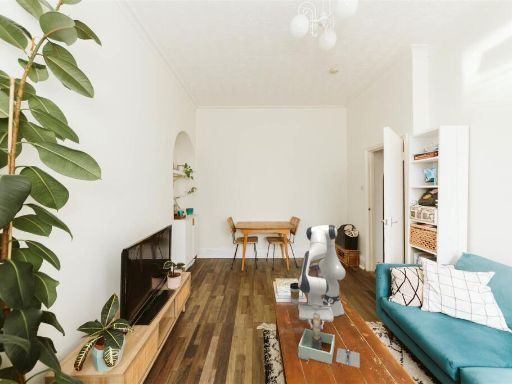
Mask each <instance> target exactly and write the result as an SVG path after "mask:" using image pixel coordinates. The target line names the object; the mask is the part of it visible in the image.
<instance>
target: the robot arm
mask: <svg viewBox="0 0 512 384" xmlns="http://www.w3.org/2000/svg"><path fill="white" fill-rule="evenodd" d="M305 235H306V238H307V240H309V242H310V243H309V249H308V250H307V251H306V252H305V253H304V256H303V260H302V261H303V262H302V265H301V270H300V275H299V279H298V282H297V283H298V288H299V290H300V291H301V293H303V294H304V293H306V294H307V303H305V302H304V303H302V302H301V303H299V304H298V306H297V308H298V318H299V320H302V321H308V324H309V325H310V330H313V323H312V321H313V314H314V313H319V314H320V323H321V324H320V330H323V329H324V327H323V326H324V324H325V322H328V323H332V322H334V317H339V316H343V315H345V310H344V306H343V303H342V301H341V294H340V283H339V281H341V280H343V279H344V278H345V277H346V273H347V272H346V269H345V268H344V267H343V265H342V263H341V261H340V259H339V257H338V254H337V250H336V247H335V242H334V240H335V239H336V238H337V237H338V229H337V227H336V226H335V225H334V224H329V225H328V224H324V225H323V224H321V225H315V226H310V227H307V229H306V233H305ZM318 260H320V261H319V262H318V263H319V268H320V270H321V272H322V276H323V278H318V277H311V276H309V275H308V274H309V271H310V268H309V266H310V264H311V262H313V261H318ZM322 296H323V298H322Z"/></svg>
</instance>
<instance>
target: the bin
mask: <svg viewBox="0 0 512 384" xmlns="http://www.w3.org/2000/svg"><path fill="white" fill-rule="evenodd" d="M320 336H321V337H322V343H326V344H328V345H330V351H329V352H328V351H324V350H321V349H320V350H318V349H314V348H312V337H313V329H311V328H309V329H308V328H304V330H303V333H302V335H301V338H300V341H299V343H298V359H301V360H304V361H305V360H306V361H309V360H310V359H311V360H313V361H318V362H322V363H326V364H329V365H332V362H333V357H334V350H335V341H336V339H335V337H336V335H335V334H331V333H328V332H327V333H326V332H322V331H320Z"/></svg>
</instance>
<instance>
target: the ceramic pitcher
mask: <svg viewBox="0 0 512 384" xmlns="http://www.w3.org/2000/svg"><path fill="white" fill-rule="evenodd" d="M308 275H309V276H311V277H318V278H323V276H322V272H321V270H320V268H319V262H315V263H314V262H313V263H311V262H310V266H309V272H308Z"/></svg>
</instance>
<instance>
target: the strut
mask: <svg viewBox="0 0 512 384" xmlns="http://www.w3.org/2000/svg"><path fill="white" fill-rule="evenodd" d="M312 322H313V323H312V325H313V329H312V330H313V337H312V348H313V349H317V350H321V349H322V346H323V345H322V343H323V342H322V337H321V336H320V332H321V329H320V325H321V321H320V314H319V313H314V314H313V320H312Z"/></svg>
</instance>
